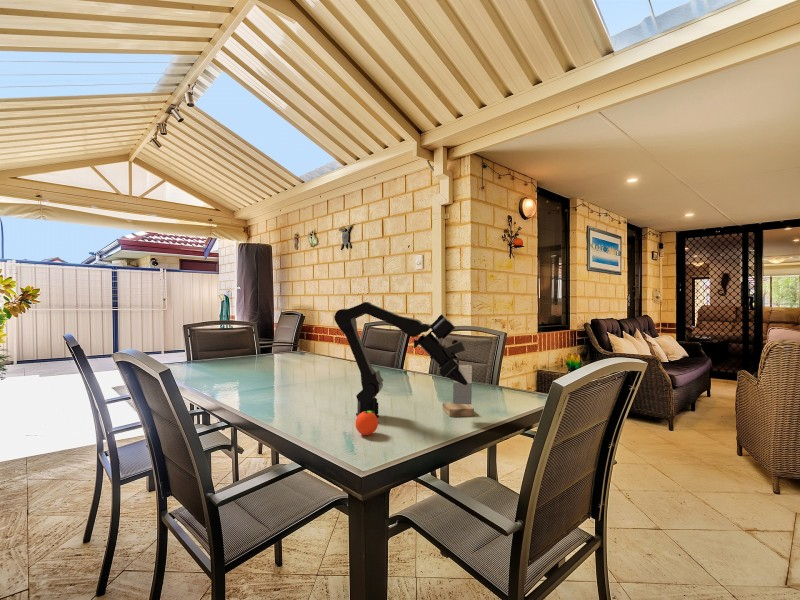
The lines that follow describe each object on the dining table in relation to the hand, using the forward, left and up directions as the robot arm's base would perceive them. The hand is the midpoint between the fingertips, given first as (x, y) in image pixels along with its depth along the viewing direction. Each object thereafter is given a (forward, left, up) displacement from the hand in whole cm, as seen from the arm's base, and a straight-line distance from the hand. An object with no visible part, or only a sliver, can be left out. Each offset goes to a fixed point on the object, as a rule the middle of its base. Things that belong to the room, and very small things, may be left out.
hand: (466, 382), depth 132 cm
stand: (+3, +10, -13) cm, 17 cm away
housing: (-1, +1, -7) cm, 7 cm away
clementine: (-35, +2, -14) cm, 37 cm away
